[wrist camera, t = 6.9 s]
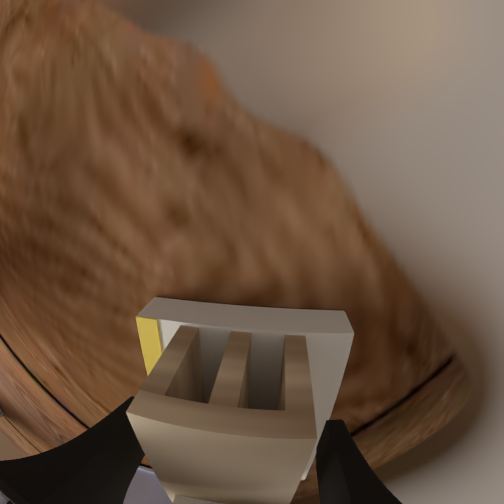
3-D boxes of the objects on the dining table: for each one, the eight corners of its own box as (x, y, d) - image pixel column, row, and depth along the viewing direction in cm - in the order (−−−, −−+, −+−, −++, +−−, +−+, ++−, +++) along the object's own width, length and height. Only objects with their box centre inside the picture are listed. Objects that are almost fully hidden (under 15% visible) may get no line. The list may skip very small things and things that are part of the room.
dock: (304, 459, 15) (304, 480, 13) (183, 446, 16) (176, 467, 14) (344, 310, 12) (354, 334, 10) (155, 296, 13) (135, 316, 11)
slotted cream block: (277, 475, 13) (273, 535, 9) (203, 467, 14) (187, 524, 9) (305, 335, 10) (317, 438, 5) (180, 325, 11) (125, 412, 6)
